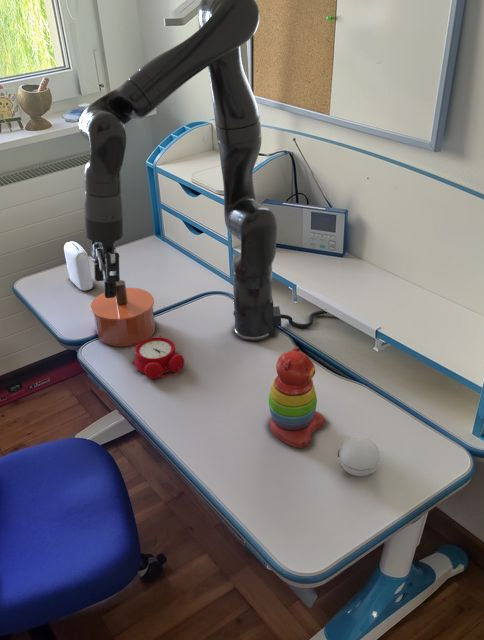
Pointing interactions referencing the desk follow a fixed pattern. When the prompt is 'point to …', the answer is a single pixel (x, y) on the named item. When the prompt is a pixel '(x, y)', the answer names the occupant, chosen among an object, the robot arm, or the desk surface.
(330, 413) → the desk surface
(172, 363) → the alarm clock
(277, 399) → the stacking bear
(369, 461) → the seamed sphere
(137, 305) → the lid
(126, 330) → the orange cylindrical pot
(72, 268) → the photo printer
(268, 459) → the desk surface
